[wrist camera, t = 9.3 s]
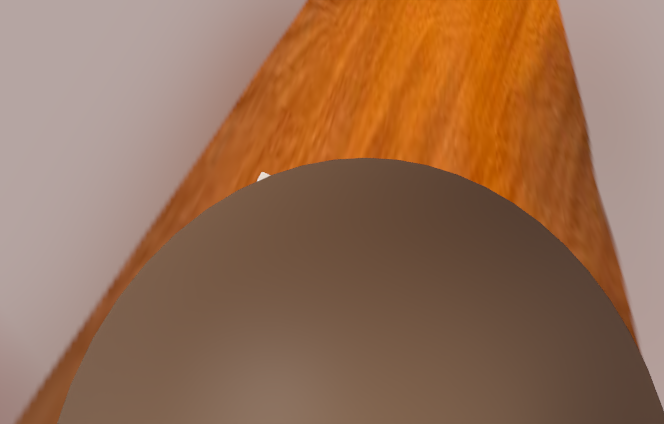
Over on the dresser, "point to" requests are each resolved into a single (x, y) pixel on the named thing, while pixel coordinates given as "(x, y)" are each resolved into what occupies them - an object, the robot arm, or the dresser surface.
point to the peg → (363, 314)
